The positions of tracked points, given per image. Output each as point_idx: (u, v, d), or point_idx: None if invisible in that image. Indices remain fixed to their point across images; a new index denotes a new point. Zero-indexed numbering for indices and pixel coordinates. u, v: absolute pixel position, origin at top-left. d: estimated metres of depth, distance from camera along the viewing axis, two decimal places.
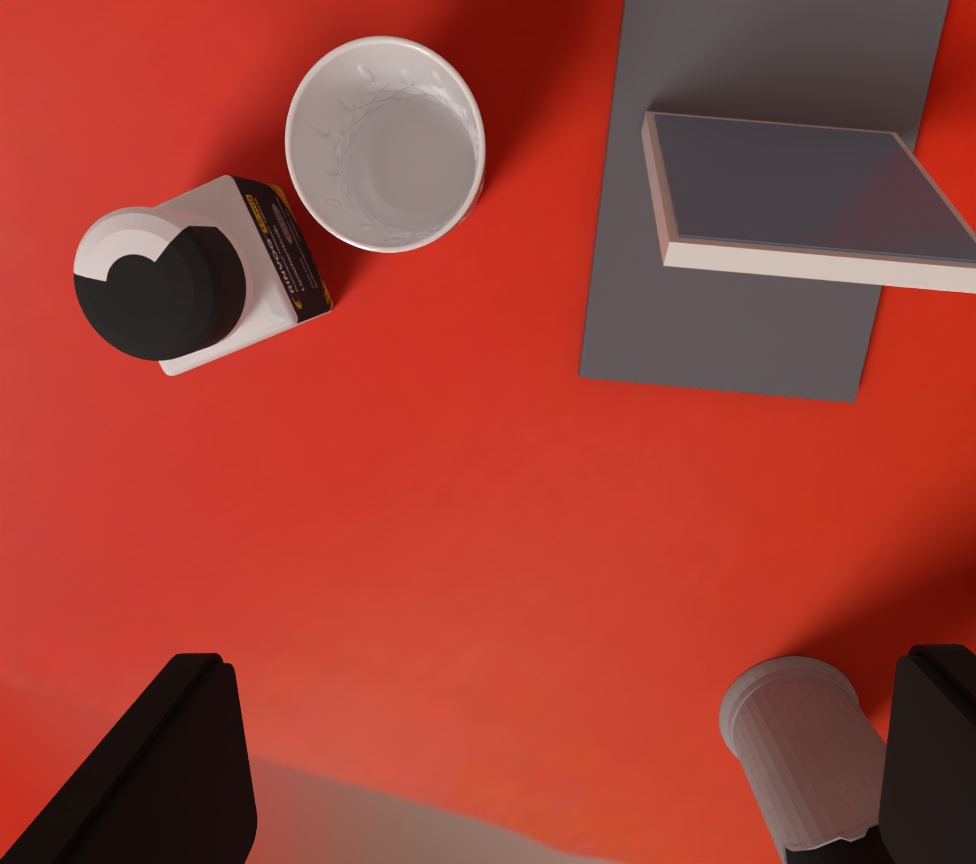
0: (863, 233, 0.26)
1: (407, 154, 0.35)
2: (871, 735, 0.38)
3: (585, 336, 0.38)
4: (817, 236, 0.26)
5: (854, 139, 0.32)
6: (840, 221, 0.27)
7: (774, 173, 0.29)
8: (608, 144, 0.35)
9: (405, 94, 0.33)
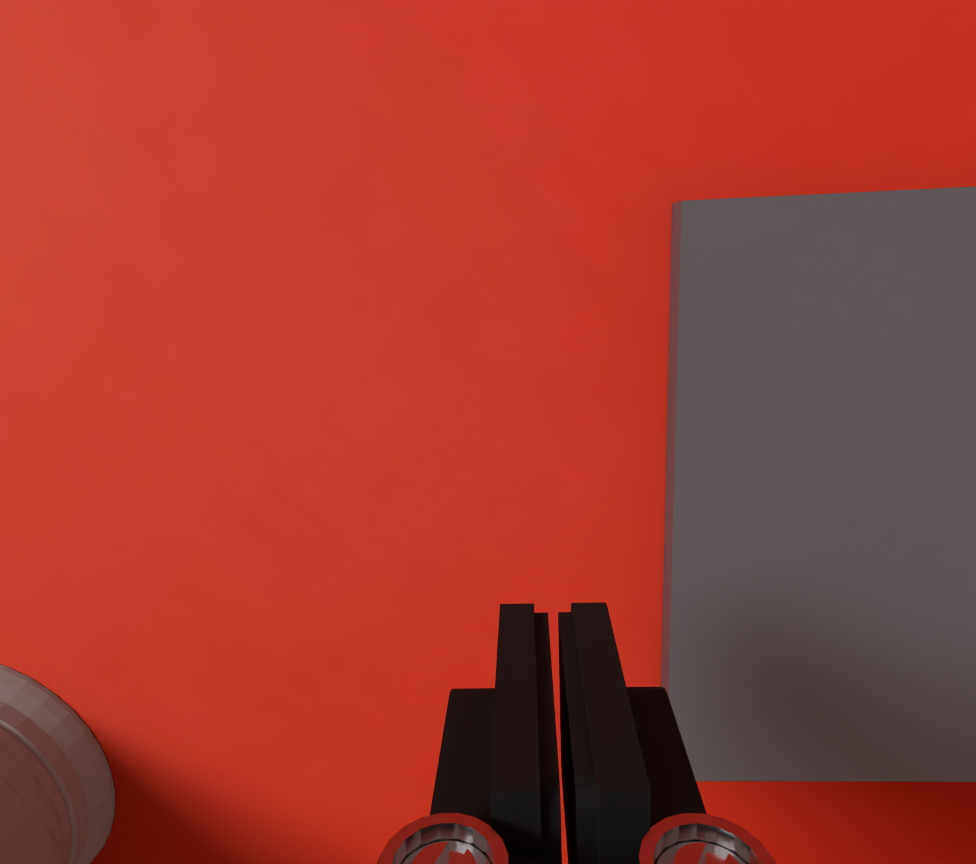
0: None
1: None
2: None
3: (787, 198, 0.15)
4: None
5: None
6: None
7: None
8: None
9: None
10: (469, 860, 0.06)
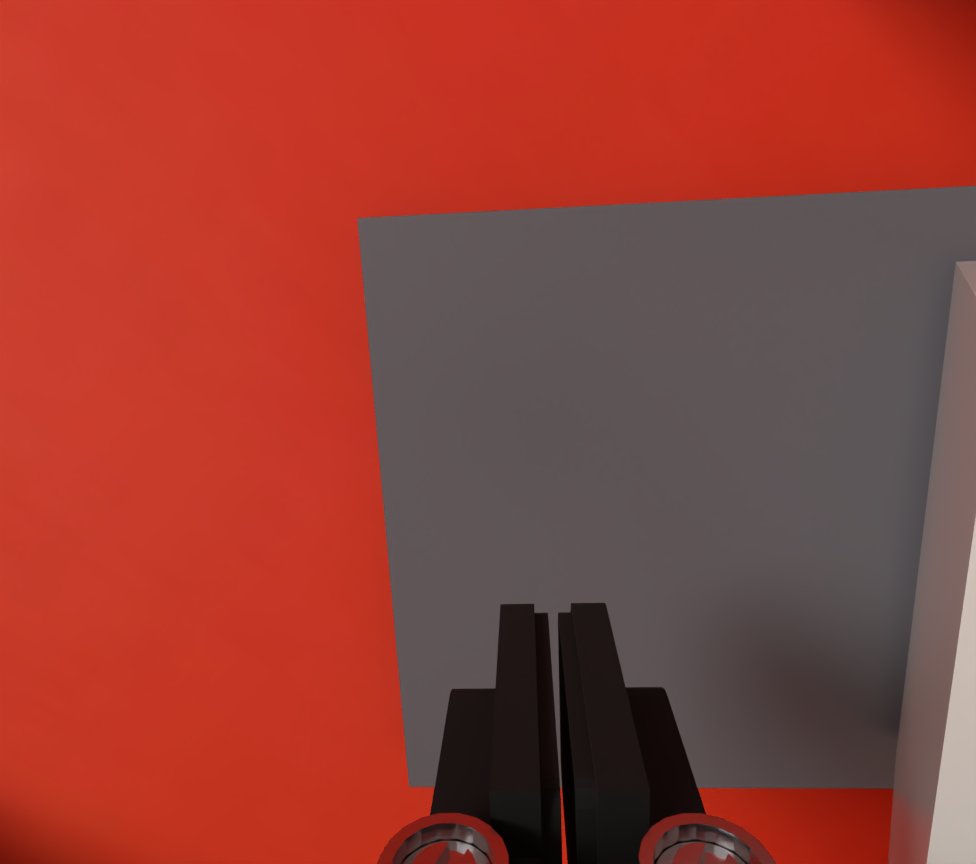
0: None
1: None
2: None
3: (459, 216, 0.15)
4: None
5: None
6: None
7: None
8: (920, 190, 0.15)
9: None
10: (469, 860, 0.06)
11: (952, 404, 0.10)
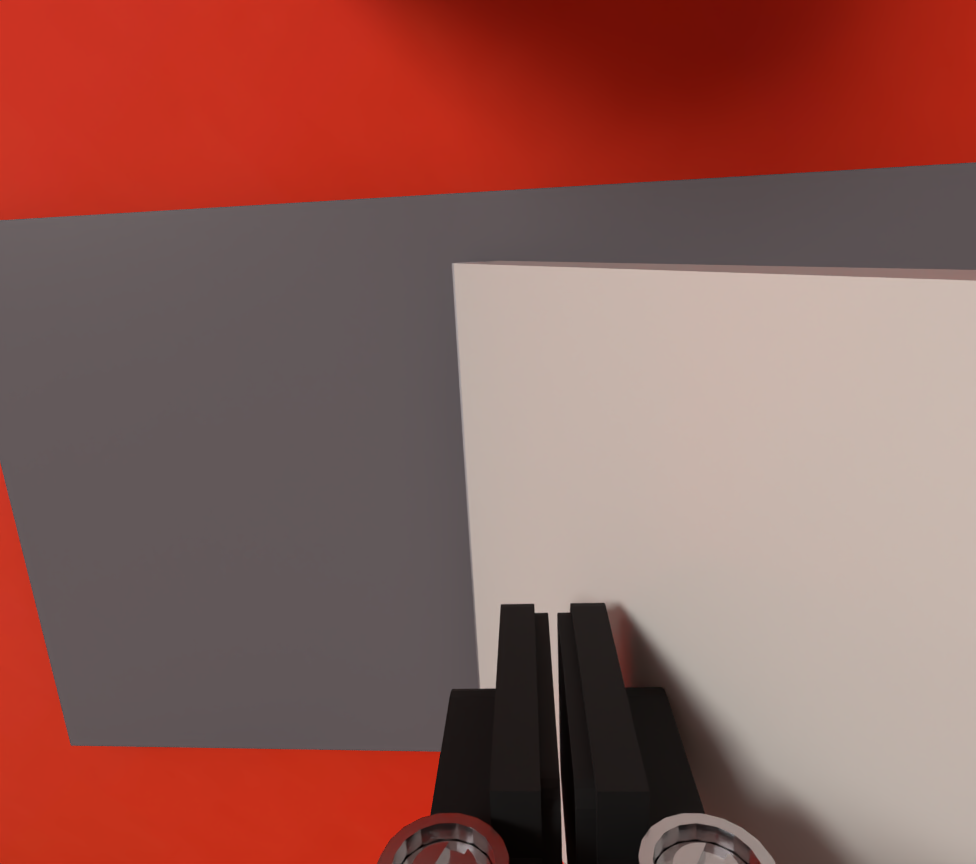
0: None
1: None
2: None
3: (29, 221, 0.17)
4: None
5: None
6: None
7: None
8: (427, 196, 0.16)
9: None
10: (469, 860, 0.06)
11: (613, 387, 0.10)
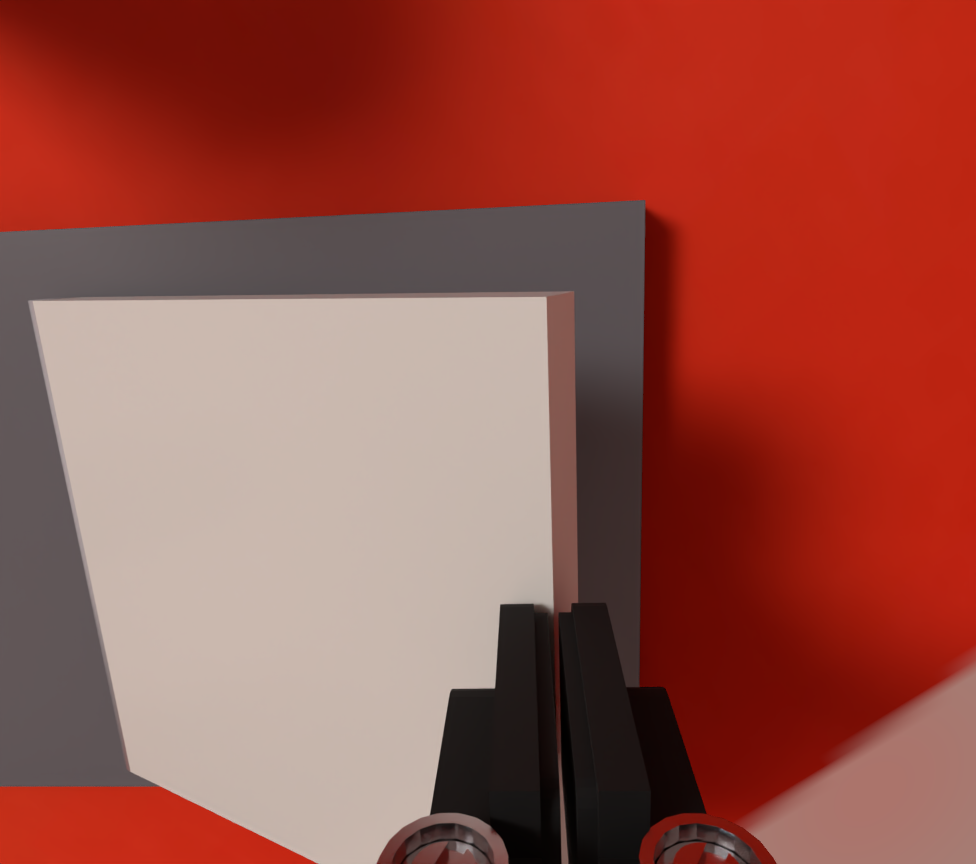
0: None
1: None
2: None
3: None
4: None
5: None
6: None
7: None
8: (18, 233, 0.16)
9: None
10: (469, 860, 0.06)
11: (258, 393, 0.12)
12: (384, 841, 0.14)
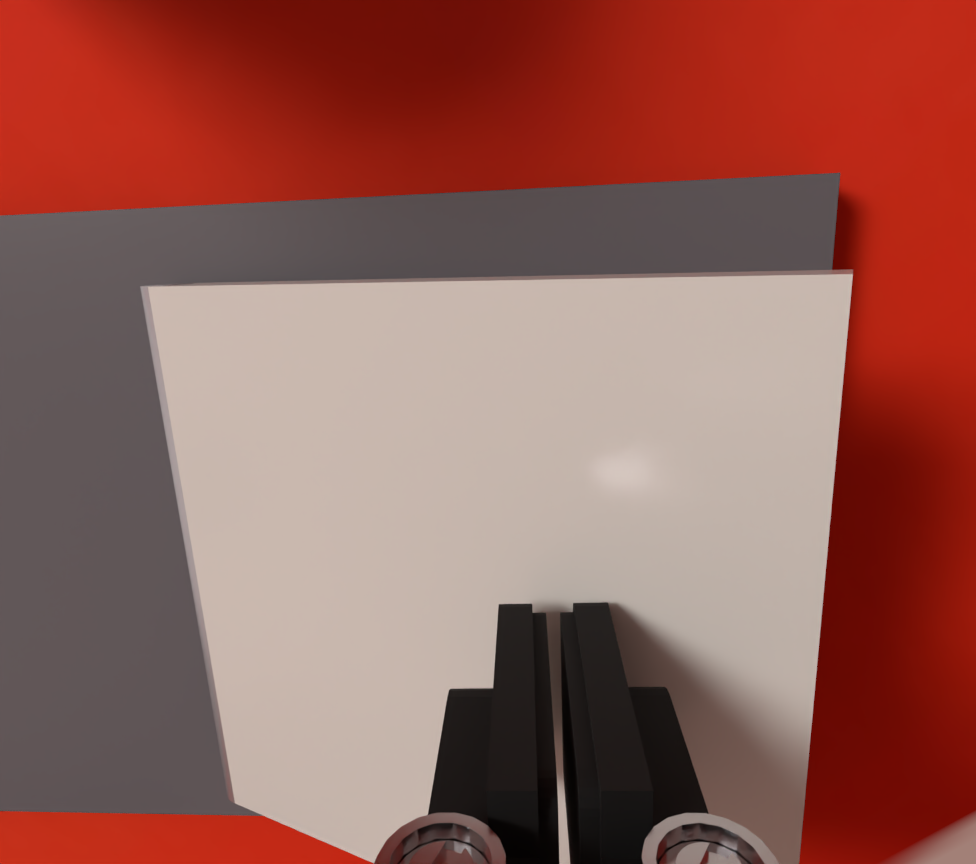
0: None
1: None
2: None
3: None
4: None
5: None
6: None
7: None
8: (125, 211, 0.14)
9: None
10: (466, 859, 0.06)
11: (442, 388, 0.11)
12: None
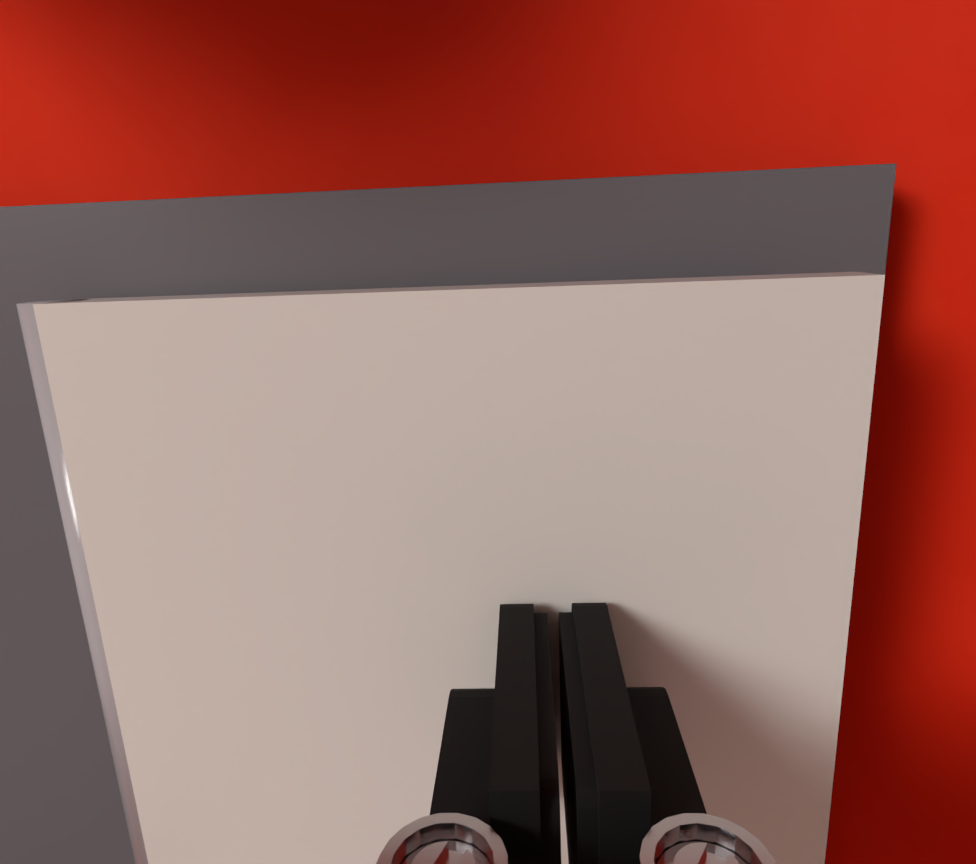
0: None
1: None
2: None
3: None
4: None
5: None
6: None
7: None
8: (3, 209, 0.11)
9: None
10: (469, 860, 0.06)
11: (457, 405, 0.10)
12: None
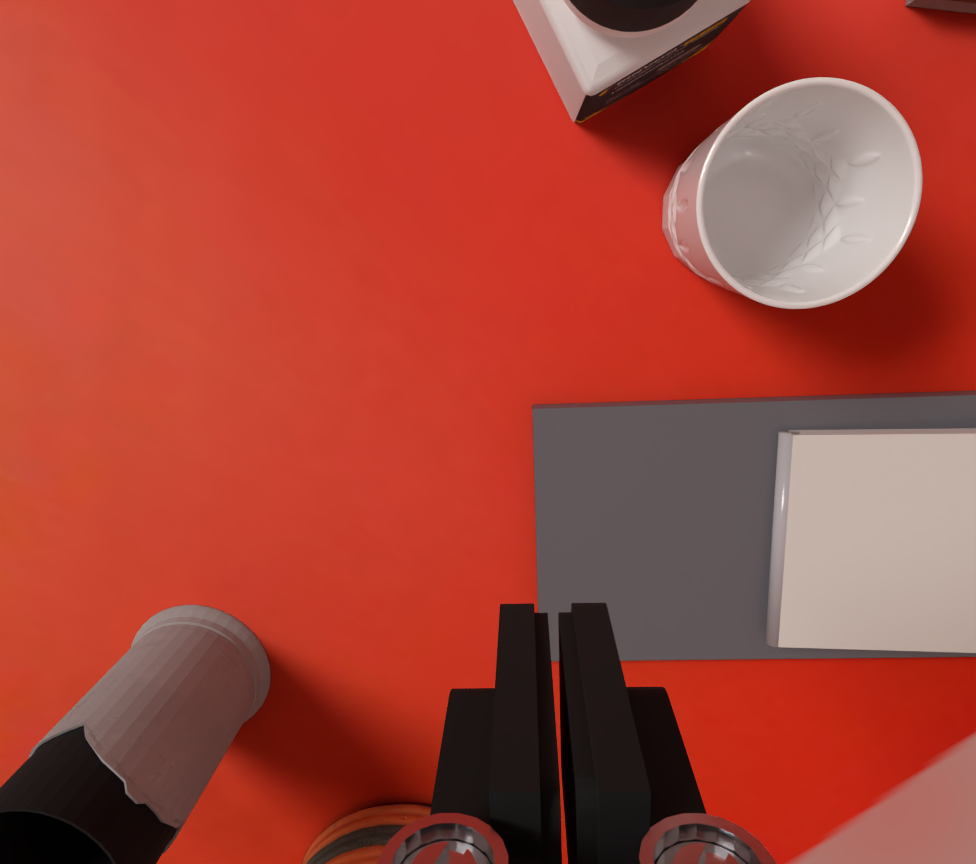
0: None
1: (753, 199, 0.33)
2: (220, 759, 0.37)
3: (575, 408, 0.36)
4: None
5: None
6: None
7: None
8: (765, 402, 0.36)
9: (820, 194, 0.31)
10: (469, 860, 0.06)
11: (926, 465, 0.35)
12: (944, 627, 0.37)
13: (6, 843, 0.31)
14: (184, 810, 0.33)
